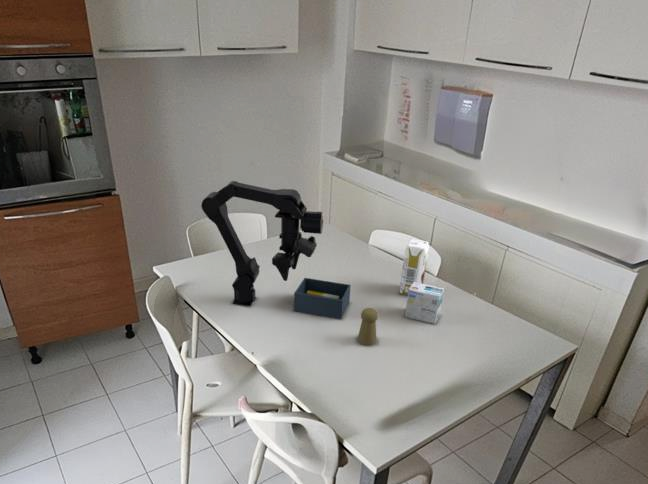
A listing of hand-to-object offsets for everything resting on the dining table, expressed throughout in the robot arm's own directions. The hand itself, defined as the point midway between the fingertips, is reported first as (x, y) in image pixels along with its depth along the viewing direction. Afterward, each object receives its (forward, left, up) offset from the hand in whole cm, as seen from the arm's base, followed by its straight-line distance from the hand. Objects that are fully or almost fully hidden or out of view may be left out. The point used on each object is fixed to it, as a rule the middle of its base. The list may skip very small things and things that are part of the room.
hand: (289, 274), depth 176 cm
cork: (+30, -13, -12) cm, 35 cm away
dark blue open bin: (+11, +3, -12) cm, 17 cm away
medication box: (+11, +3, -12) cm, 16 cm away
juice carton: (+39, +25, -12) cm, 48 cm away
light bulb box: (+45, +8, -12) cm, 47 cm away
